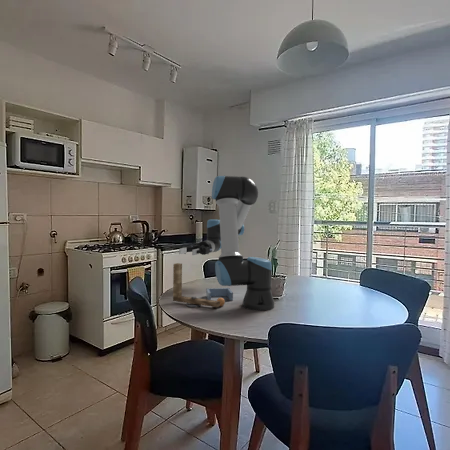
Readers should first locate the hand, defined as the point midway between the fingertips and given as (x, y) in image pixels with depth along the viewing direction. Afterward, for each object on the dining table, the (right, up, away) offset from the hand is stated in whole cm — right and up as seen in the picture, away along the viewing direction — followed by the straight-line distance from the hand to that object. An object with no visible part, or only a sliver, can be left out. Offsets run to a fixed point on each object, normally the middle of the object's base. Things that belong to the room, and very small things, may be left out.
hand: (186, 252), depth 174 cm
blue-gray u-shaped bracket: (+17, -24, +4) cm, 30 cm away
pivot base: (+5, -25, -10) cm, 27 cm away
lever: (+6, -23, -11) cm, 26 cm away
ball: (+17, -25, -11) cm, 32 cm away
